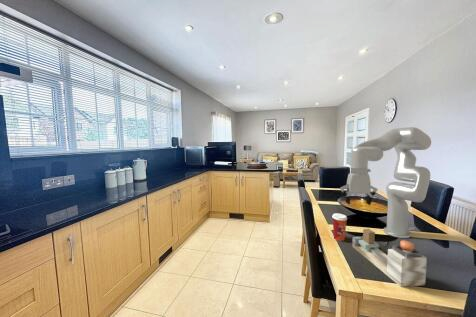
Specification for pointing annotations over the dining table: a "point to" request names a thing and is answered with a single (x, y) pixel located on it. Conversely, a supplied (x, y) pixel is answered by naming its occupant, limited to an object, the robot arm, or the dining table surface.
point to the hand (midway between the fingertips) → (358, 203)
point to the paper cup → (339, 226)
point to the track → (397, 263)
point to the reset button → (407, 245)
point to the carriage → (368, 240)
